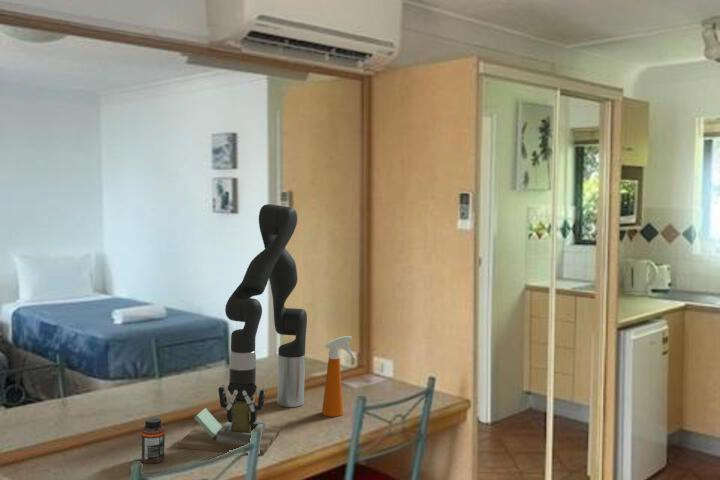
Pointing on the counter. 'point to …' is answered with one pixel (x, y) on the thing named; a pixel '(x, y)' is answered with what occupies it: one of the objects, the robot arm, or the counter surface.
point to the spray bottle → (334, 378)
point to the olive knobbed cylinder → (241, 417)
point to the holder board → (227, 438)
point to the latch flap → (208, 423)
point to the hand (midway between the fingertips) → (241, 422)
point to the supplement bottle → (153, 441)
